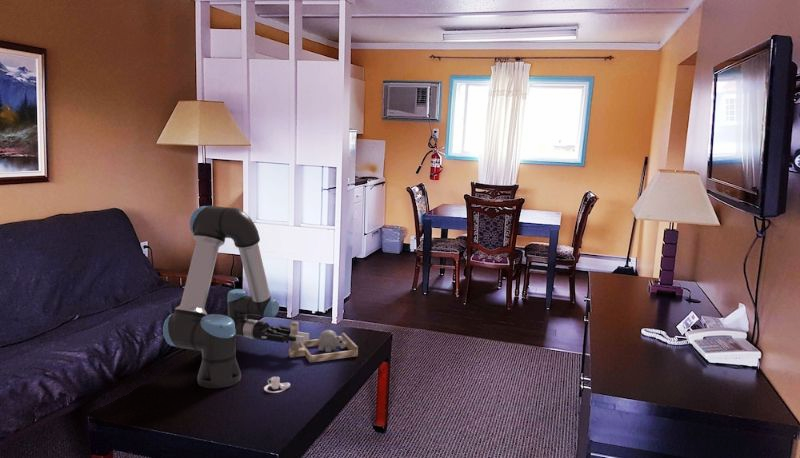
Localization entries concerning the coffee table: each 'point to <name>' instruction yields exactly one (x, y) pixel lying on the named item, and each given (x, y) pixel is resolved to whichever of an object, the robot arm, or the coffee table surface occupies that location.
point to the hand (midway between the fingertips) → (306, 338)
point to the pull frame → (303, 351)
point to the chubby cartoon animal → (330, 341)
